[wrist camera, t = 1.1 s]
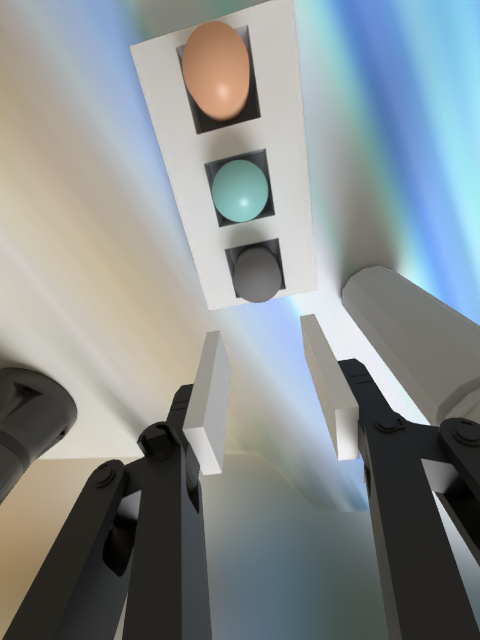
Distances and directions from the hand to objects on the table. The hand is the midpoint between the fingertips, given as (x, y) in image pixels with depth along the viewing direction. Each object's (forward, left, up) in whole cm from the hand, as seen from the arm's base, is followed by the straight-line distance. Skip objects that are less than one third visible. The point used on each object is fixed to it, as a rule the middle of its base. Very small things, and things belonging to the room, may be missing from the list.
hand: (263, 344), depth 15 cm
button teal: (0, +7, -15) cm, 17 cm away
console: (0, +7, -19) cm, 20 cm away
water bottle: (+14, -8, -19) cm, 25 cm away
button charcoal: (0, 0, -15) cm, 15 cm away
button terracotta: (0, +15, -15) cm, 21 cm away
